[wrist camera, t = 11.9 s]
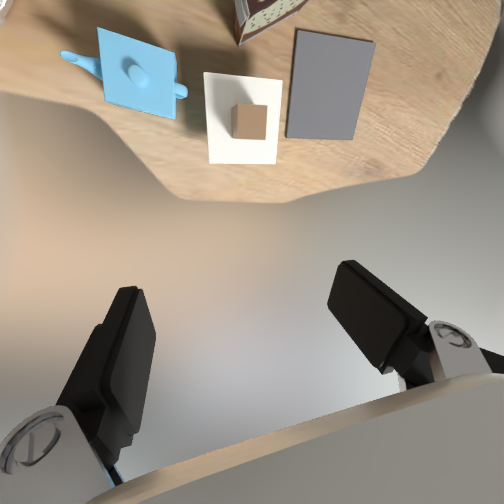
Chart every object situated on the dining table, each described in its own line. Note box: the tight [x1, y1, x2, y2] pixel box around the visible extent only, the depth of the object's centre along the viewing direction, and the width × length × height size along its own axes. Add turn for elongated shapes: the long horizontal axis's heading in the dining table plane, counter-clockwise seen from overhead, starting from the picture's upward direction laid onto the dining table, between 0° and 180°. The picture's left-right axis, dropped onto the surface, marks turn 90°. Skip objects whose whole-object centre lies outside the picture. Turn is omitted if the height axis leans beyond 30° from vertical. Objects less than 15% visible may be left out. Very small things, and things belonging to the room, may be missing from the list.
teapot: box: [60, 27, 188, 120], centre depth 24 cm, size 12×6×8 cm, turn 78°
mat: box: [286, 30, 376, 140], centre depth 33 cm, size 13×13×1 cm
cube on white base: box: [203, 72, 283, 164], centre depth 26 cm, size 10×10×5 cm
